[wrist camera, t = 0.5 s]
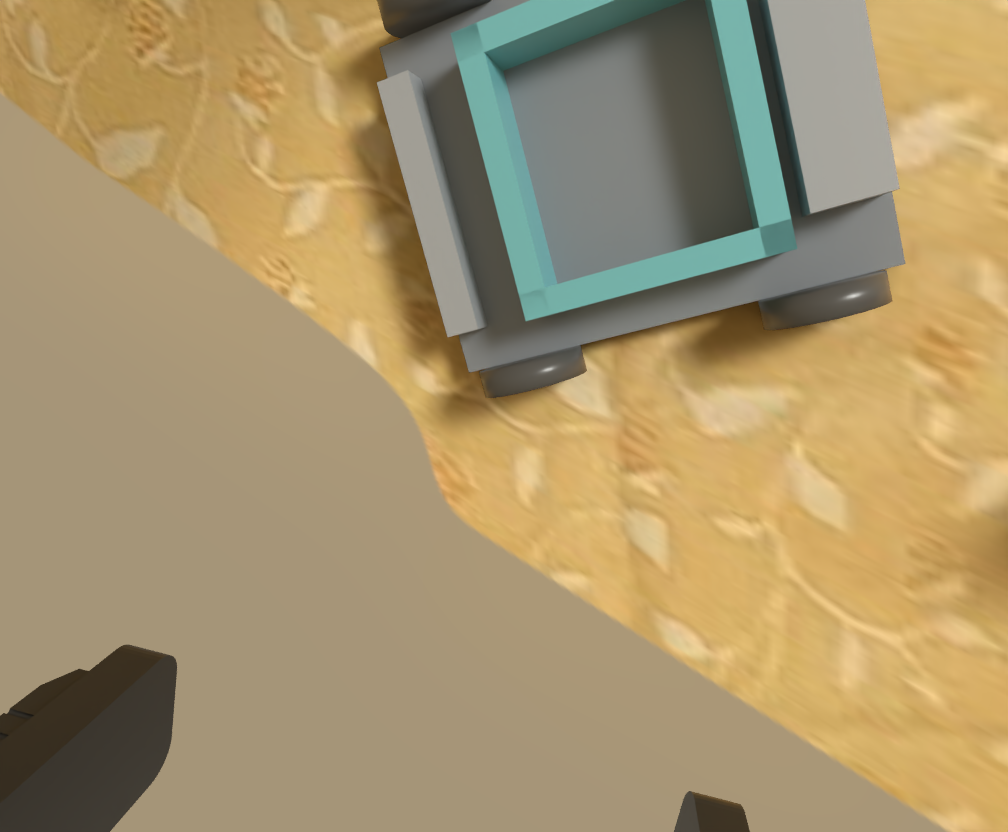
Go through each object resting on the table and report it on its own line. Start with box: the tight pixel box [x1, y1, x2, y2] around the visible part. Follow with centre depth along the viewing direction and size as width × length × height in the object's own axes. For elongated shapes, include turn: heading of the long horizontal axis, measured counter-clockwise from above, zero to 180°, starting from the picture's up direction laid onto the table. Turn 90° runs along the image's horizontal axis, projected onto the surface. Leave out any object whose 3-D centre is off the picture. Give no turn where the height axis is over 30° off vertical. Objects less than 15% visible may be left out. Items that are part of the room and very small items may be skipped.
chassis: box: [377, 0, 905, 398], centre depth 30 cm, size 18×20×5 cm
